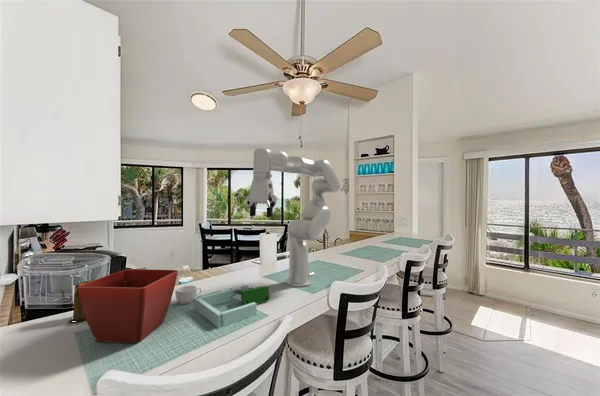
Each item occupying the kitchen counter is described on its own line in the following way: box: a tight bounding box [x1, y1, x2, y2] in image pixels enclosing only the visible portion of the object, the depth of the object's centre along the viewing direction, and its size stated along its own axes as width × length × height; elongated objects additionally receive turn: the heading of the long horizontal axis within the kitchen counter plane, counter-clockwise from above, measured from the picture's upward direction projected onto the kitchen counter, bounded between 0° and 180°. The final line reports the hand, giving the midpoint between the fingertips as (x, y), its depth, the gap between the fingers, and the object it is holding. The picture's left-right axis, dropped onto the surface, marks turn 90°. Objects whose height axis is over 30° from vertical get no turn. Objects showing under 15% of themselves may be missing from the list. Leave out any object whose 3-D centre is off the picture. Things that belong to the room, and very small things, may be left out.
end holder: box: [193, 289, 258, 329], centre depth 94 cm, size 14×20×4 cm
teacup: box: [174, 284, 202, 305], centre depth 104 cm, size 10×8×5 cm
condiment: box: [64, 280, 92, 327], centre depth 87 cm, size 7×8×12 cm
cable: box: [234, 287, 254, 294], centre depth 108 cm, size 25×5×1 cm, turn 134°
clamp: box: [237, 285, 271, 306], centre depth 104 cm, size 12×6×9 cm, turn 117°
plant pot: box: [78, 268, 178, 344], centre depth 79 cm, size 19×19×17 cm
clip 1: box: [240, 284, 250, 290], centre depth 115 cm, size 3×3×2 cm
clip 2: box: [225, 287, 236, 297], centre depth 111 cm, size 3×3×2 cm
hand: (260, 216), depth 112 cm, fingers open, 9 cm apart
